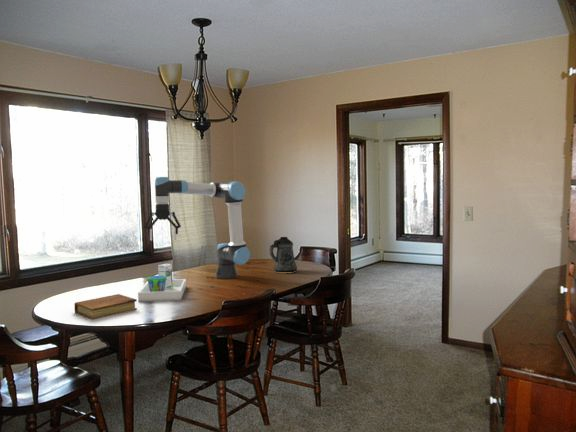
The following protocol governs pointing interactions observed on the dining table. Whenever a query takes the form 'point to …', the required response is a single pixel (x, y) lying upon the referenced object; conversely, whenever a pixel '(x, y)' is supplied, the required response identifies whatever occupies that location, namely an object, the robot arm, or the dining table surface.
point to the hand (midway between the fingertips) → (163, 240)
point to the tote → (163, 292)
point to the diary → (105, 306)
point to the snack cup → (156, 283)
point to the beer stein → (283, 255)
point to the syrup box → (166, 274)
